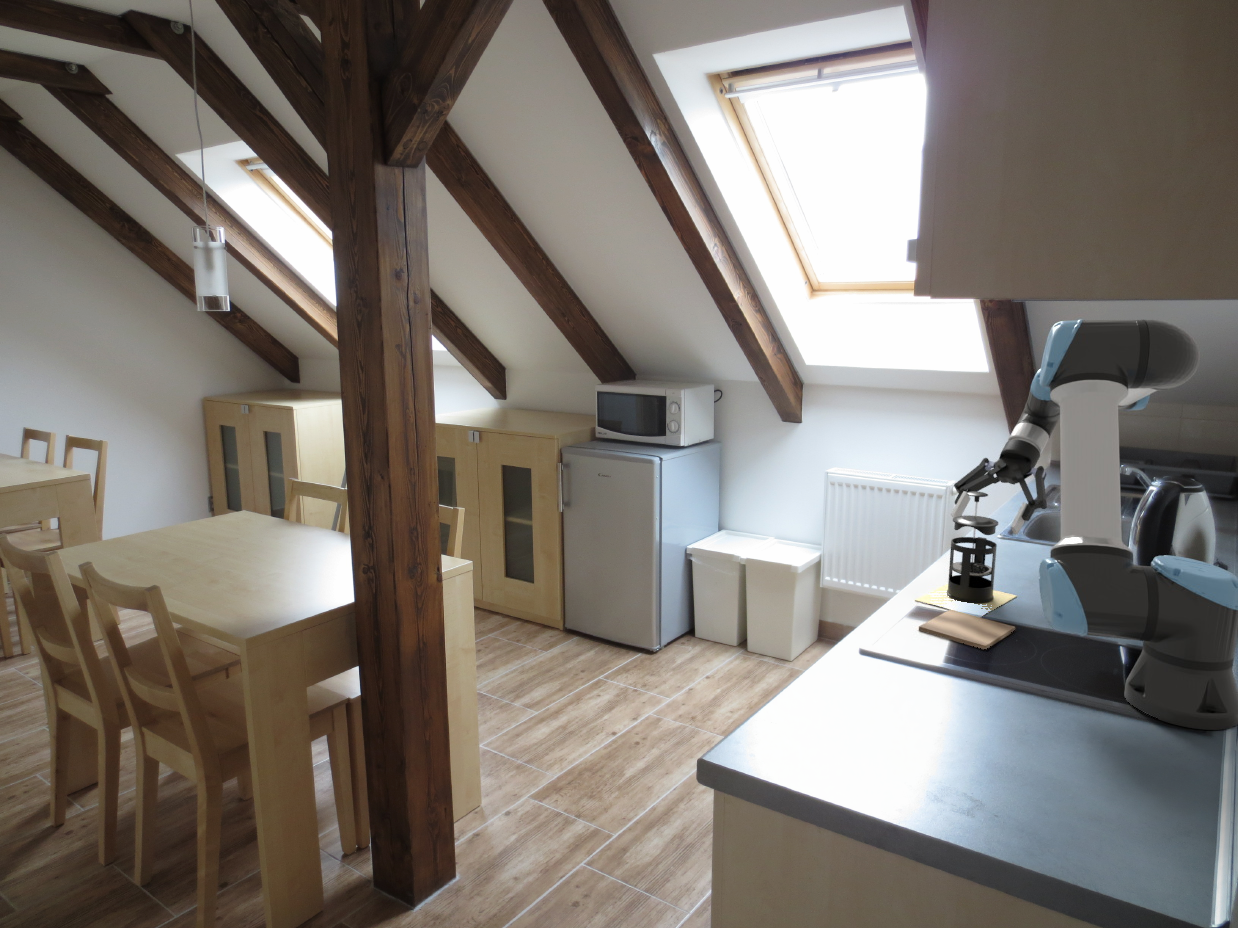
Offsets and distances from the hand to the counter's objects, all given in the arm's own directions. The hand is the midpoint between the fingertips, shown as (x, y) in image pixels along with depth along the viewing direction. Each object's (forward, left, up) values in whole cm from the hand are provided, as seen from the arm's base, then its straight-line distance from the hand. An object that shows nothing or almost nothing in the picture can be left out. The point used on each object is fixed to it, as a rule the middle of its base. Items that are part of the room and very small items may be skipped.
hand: (983, 524), depth 179 cm
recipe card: (-7, 0, -15) cm, 17 cm away
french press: (-5, 0, -15) cm, 16 cm away
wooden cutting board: (-24, -8, -15) cm, 29 cm away
